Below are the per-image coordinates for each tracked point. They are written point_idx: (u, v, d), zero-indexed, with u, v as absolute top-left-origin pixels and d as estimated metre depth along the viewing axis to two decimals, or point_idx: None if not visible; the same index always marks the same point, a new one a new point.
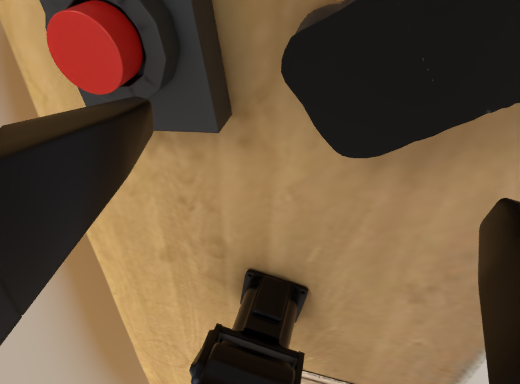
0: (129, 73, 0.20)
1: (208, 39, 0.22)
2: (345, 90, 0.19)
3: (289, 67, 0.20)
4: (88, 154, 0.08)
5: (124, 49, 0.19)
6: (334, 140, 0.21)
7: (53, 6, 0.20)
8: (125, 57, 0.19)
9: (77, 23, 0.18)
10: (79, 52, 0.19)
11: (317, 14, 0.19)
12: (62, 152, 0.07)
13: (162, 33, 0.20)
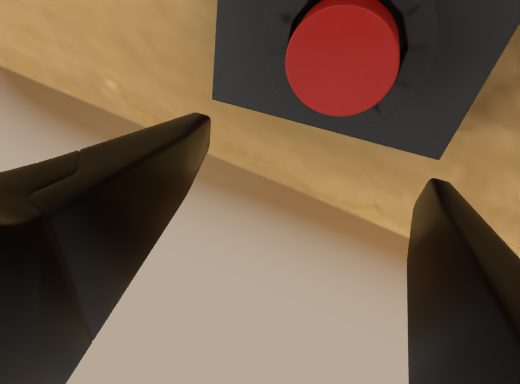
0: (389, 19, 0.14)
1: None
2: None
3: None
4: (159, 175, 0.08)
5: (355, 2, 0.13)
6: None
7: (286, 89, 0.17)
8: (365, 5, 0.13)
9: (303, 47, 0.14)
10: (333, 70, 0.14)
11: None
12: (140, 175, 0.07)
13: None
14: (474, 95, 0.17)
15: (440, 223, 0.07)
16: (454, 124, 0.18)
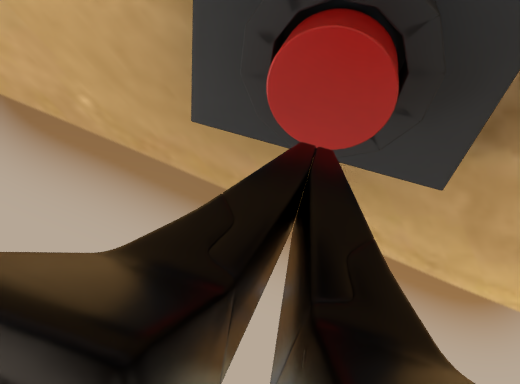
0: (386, 42, 0.12)
1: None
2: None
3: None
4: (288, 214, 0.07)
5: (346, 22, 0.11)
6: None
7: (271, 115, 0.15)
8: (358, 26, 0.11)
9: (285, 73, 0.12)
10: (322, 99, 0.12)
11: None
12: (282, 218, 0.07)
13: None
14: (483, 122, 0.15)
15: (307, 184, 0.08)
16: (460, 153, 0.16)
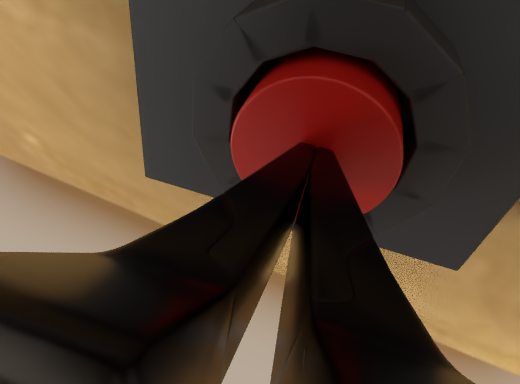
0: (386, 95, 0.09)
1: None
2: None
3: None
4: (288, 214, 0.07)
5: (333, 70, 0.08)
6: None
7: None
8: (348, 76, 0.08)
9: (254, 132, 0.09)
10: None
11: None
12: (282, 218, 0.07)
13: None
14: (514, 198, 0.11)
15: (307, 185, 0.08)
16: (482, 231, 0.12)
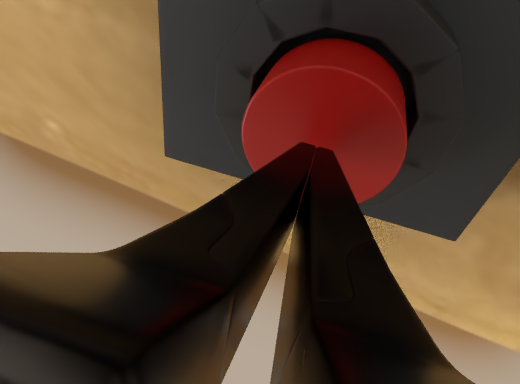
0: (391, 84, 0.09)
1: None
2: None
3: None
4: (288, 214, 0.07)
5: (340, 60, 0.09)
6: None
7: None
8: (355, 66, 0.09)
9: (264, 120, 0.10)
10: None
11: None
12: (282, 218, 0.07)
13: None
14: (506, 169, 0.12)
15: (307, 184, 0.08)
16: (477, 202, 0.14)
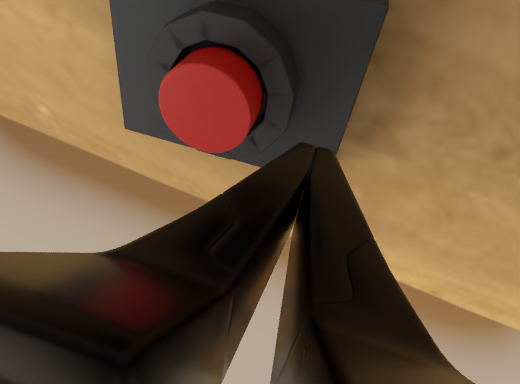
0: (240, 73, 0.16)
1: None
2: None
3: None
4: (288, 214, 0.07)
5: (208, 59, 0.15)
6: None
7: None
8: (215, 63, 0.15)
9: (170, 95, 0.16)
10: (199, 115, 0.16)
11: None
12: (282, 218, 0.07)
13: (217, 11, 0.15)
14: (342, 131, 0.19)
15: (307, 184, 0.08)
16: None
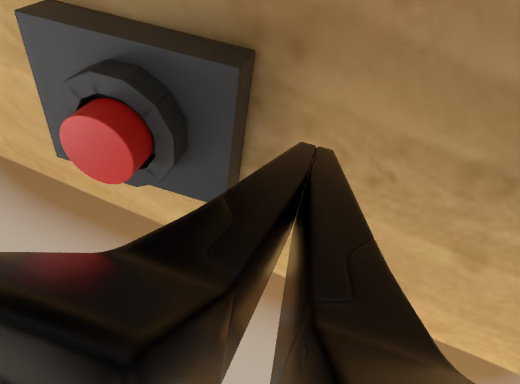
0: (122, 122, 0.19)
1: (146, 34, 0.20)
2: None
3: None
4: (288, 214, 0.07)
5: (93, 111, 0.19)
6: None
7: None
8: (99, 115, 0.18)
9: (68, 138, 0.20)
10: (94, 154, 0.20)
11: None
12: (282, 218, 0.07)
13: (103, 70, 0.19)
14: (228, 164, 0.22)
15: (307, 184, 0.08)
16: (224, 183, 0.23)
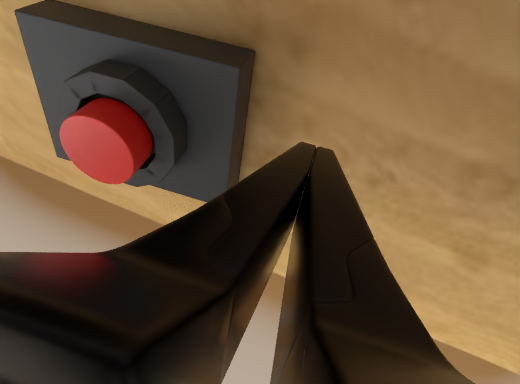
0: (122, 122, 0.19)
1: (146, 34, 0.20)
2: None
3: None
4: (288, 214, 0.07)
5: (93, 111, 0.19)
6: None
7: None
8: (99, 115, 0.18)
9: (69, 139, 0.20)
10: (94, 154, 0.20)
11: None
12: (282, 218, 0.07)
13: (103, 71, 0.19)
14: (228, 164, 0.22)
15: (307, 184, 0.08)
16: (224, 183, 0.23)
